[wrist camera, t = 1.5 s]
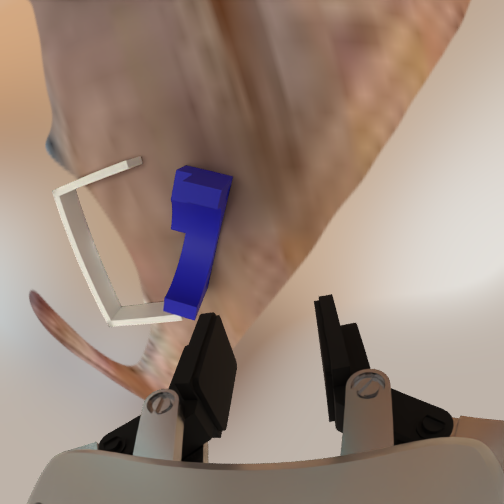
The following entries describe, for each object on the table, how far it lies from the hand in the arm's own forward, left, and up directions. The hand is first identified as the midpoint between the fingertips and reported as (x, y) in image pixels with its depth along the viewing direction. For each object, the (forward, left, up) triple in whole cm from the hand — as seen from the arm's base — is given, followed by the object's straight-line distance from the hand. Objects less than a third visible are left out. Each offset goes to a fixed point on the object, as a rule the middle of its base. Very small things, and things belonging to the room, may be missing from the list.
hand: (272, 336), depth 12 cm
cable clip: (0, -8, -18) cm, 19 cm away
